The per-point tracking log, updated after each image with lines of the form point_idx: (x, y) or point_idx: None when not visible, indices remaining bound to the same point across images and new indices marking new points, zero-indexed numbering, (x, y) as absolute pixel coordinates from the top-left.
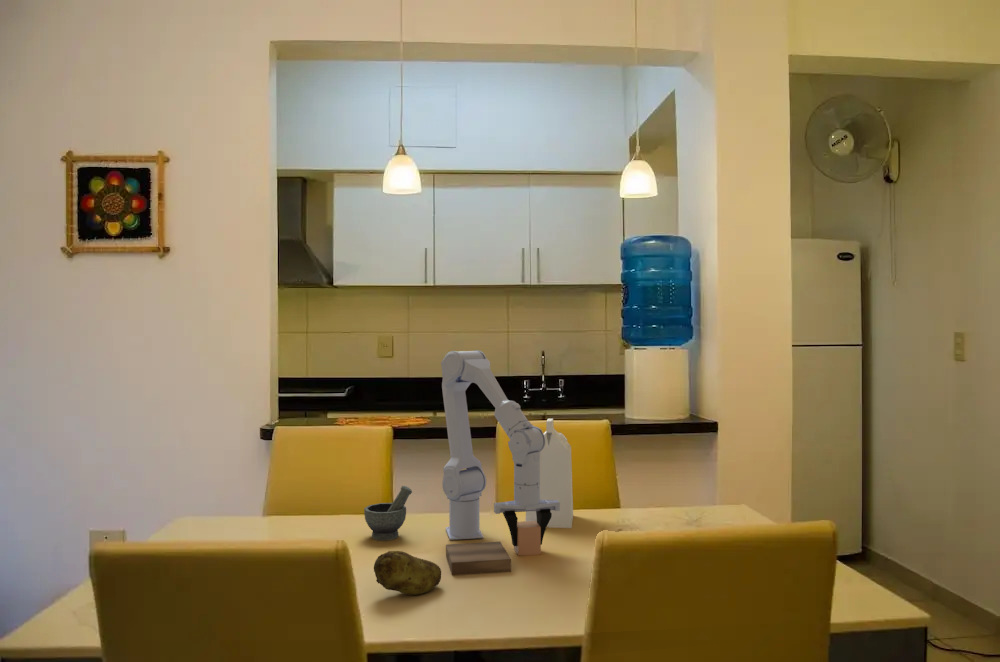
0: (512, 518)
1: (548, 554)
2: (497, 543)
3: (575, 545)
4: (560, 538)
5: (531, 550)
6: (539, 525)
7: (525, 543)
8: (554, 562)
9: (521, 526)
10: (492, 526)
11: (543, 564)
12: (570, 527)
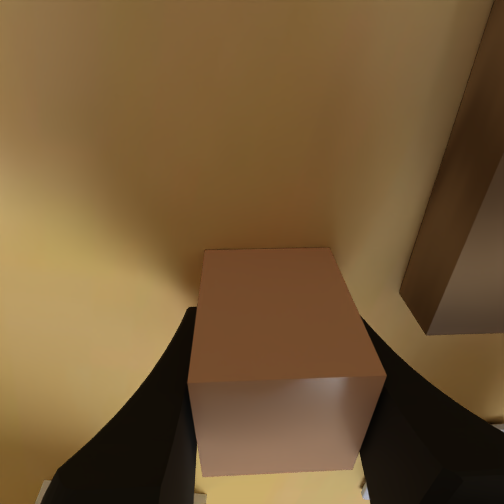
0: (499, 462)
1: (160, 244)
2: (459, 310)
3: (11, 341)
4: (87, 411)
5: (257, 263)
6: (188, 417)
7: (301, 288)
8: (137, 93)
9: (343, 402)
10: (309, 496)
11: (222, 62)
12: (46, 482)
